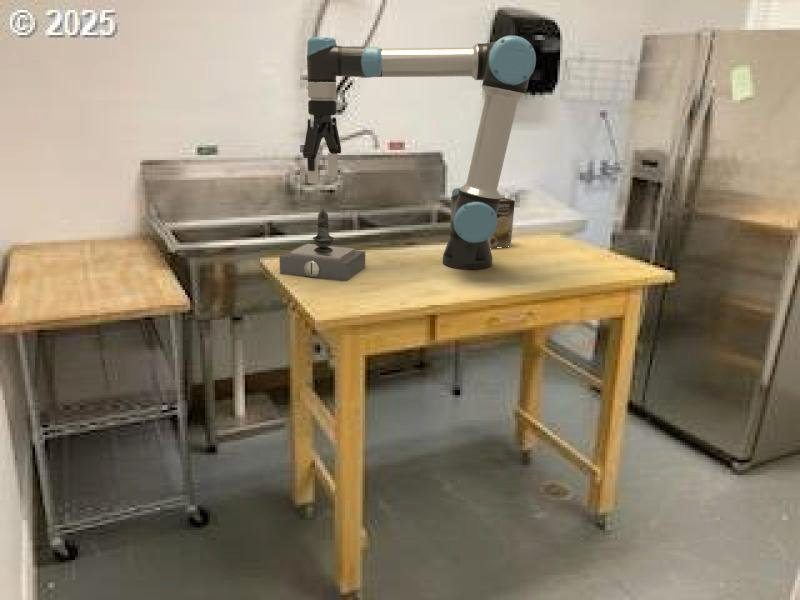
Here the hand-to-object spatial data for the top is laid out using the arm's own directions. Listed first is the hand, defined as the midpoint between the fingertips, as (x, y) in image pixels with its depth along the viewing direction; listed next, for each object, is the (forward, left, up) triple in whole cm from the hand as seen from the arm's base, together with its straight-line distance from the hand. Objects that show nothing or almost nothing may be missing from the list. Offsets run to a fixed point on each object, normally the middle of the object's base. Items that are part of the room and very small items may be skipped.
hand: (323, 180), depth 185 cm
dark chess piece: (0, 0, -20) cm, 20 cm away
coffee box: (-41, -50, -26) cm, 70 cm away
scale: (0, 0, -26) cm, 26 cm away
